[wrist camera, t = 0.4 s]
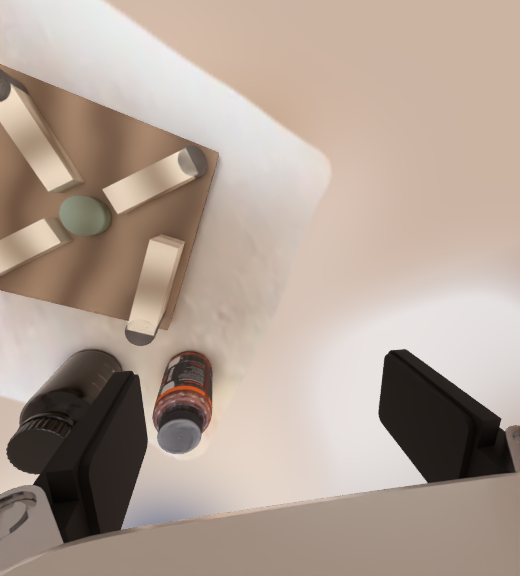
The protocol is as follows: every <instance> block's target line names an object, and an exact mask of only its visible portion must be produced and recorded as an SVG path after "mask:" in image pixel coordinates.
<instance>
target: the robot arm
mask: <svg viewBox="0 0 520 576" xmlns="http://www.w3.org/2000/svg"><path fill="white" fill-rule="evenodd" d="M379 418H380V421H381V423H382V424H383V425H384V427H385V428H386V429H387V430H388V432H389V433H390V434H391V436H392V437H393V438H394V440H395V441H396V442H397V443H398V445H399V446H400V447H401V449H402V450H403V451H404V452H405V454H406V455H407V456H408V457H409V459H410V460H411V462H412V463H413V464H414V466H415V467H416V468H417V469H418V471H419V472H420V473H421V474H422V476H423V477H424V478H425V480H426V481H427V482H428V483H427V484H420V485H413V486H405V487H398V488H391V489H384V490H377V491H370V492H363V493H356V494H350V495H342V496H335V497H328V498H321V499H314V500H308V501H301V502H294V503H287V504H281V505H274V506H267V507H260V508H255V509H247V510H241V511H234V512H228V513H221V514H214V515H208V516H201V517H195V518H189V519H182V520H176V521H170V522H164V523H158V524H152V525H145V526H140V527H134V528H129V529H123V530H121V527H122V524H123V521H124V518H125V515H126V512H127V508H128V505H129V502H130V499H131V496H132V493H133V490H134V487H135V483H136V480H137V477H138V474H139V471H140V468H141V464H142V462H143V459H144V455H145V452H146V449H147V443H148V438H147V430H146V423H145V416H144V408H143V401H142V394H141V387H140V380H139V376H138V375H134V374H133V372H132V371H125V372H114V373H113V374H112V376H111V377H110V379H109V380H108V382H107V383H106V385H105V386H104V388H103V389H102V390H101V392H100V393H99V395H98V396H97V398H96V399H95V401H94V402H93V404H92V405H91V407H90V408H89V410H88V411H87V412H86V414H84V415H82V416H81V417H80V418H79V419H78V421H77V422H76V424H75V425H74V426H73V428H72V429H71V431H70V432H69V434H68V435H67V436H66V438H65V439H64V441H63V442H62V444H61V445H60V446H59V448H58V449H57V451H56V452H55V454H54V455H53V456H52V458H51V459H50V461H49V462H48V464H47V465H46V466H45V468H44V469H43V471H42V472H41V474H40V475H39V477H38V478H37V479H36V481H35V482H34V484H33V485H25V486H21V487H17V488H13V489H11V490H8V491H6V492H4V493H2V494H0V576H520V426H517V425H515V426H510V427H508V428H507V429H506V431H503V430H502V429H501V428H500V427H499V426H500V422H501V418H500V417H498V416H497V415H496V414H494V413H493V412H491V411H490V410H489V409H487V408H486V407H485V406H483V405H482V404H480V403H479V402H478V401H476V400H475V399H473V398H472V397H471V396H469V395H468V394H467V393H465V392H464V391H462V390H461V389H460V388H458V387H457V386H456V385H454V384H453V383H451V382H450V381H448V380H447V379H446V378H445V377H443V376H442V375H440V374H439V373H438V372H436V371H435V370H434V369H432V368H431V367H430V366H428V365H427V364H425V363H424V362H423V361H421V360H420V359H419V358H417V357H416V356H414V355H413V354H412V353H410V352H409V351H407V350H405V349H402V350H391V351H389V353H388V354H387V355H386V356H385V358H384V367H383V376H382V385H381V394H380V403H379Z"/></svg>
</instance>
